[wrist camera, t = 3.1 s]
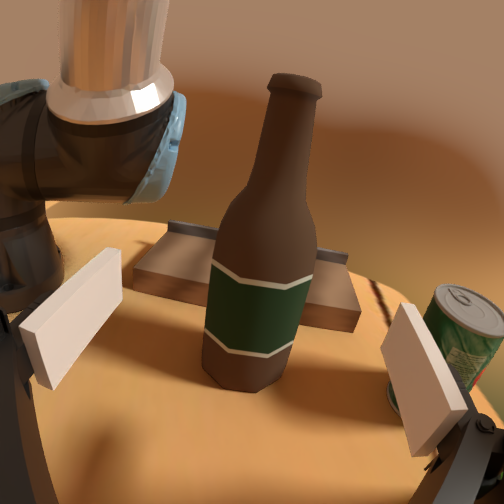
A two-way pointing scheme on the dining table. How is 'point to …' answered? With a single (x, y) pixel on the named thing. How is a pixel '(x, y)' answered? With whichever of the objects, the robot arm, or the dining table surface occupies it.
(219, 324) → the beer bottle
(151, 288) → the shelf
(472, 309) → the canned tomato
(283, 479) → the dining table surface
